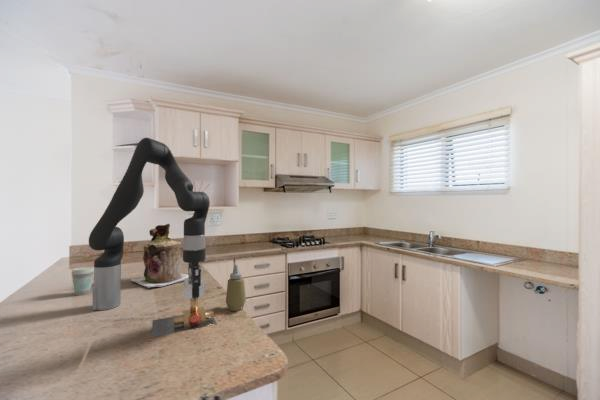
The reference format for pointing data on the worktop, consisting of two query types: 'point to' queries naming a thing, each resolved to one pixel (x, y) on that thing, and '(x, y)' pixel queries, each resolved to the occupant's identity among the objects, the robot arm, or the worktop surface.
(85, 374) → the worktop surface
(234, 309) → the squeeze bottle
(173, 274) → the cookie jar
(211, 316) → the valve station
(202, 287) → the steel fitting
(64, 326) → the worktop surface
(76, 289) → the coffee cup
